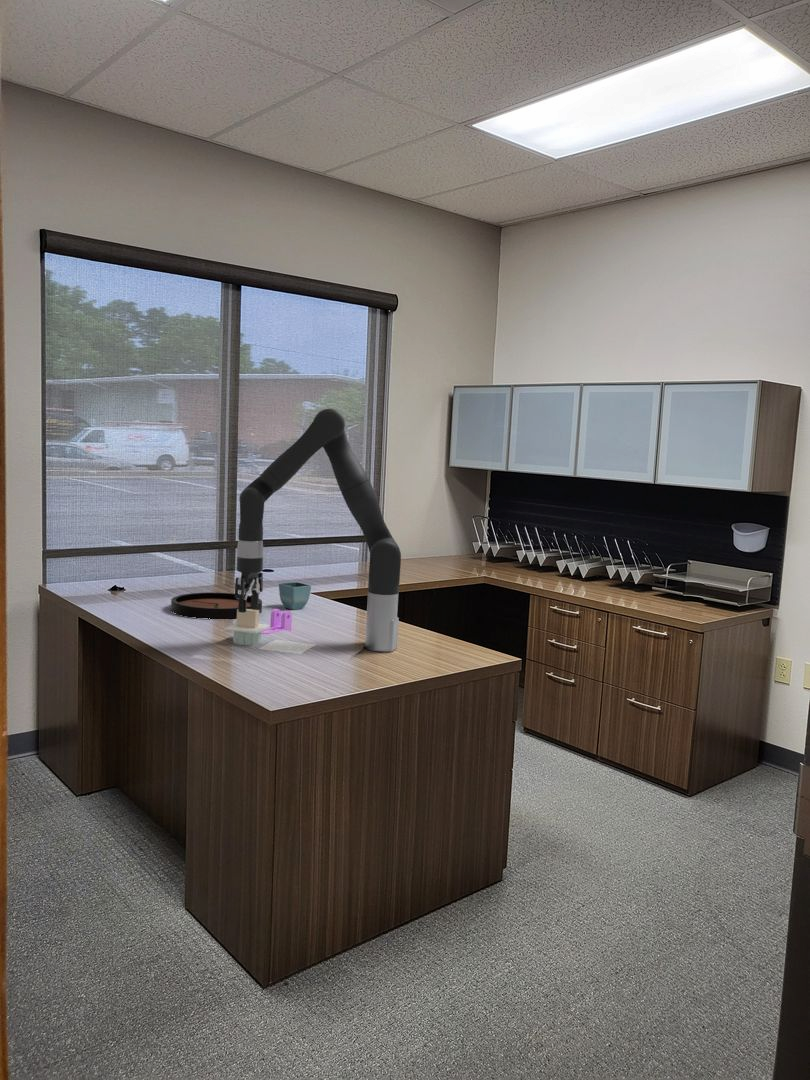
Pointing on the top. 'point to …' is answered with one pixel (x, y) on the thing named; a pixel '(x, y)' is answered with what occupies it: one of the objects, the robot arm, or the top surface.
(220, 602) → the wall clock
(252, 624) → the cover
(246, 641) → the cup
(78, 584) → the top surface
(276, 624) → the bracket
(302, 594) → the flower pot
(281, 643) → the mat
